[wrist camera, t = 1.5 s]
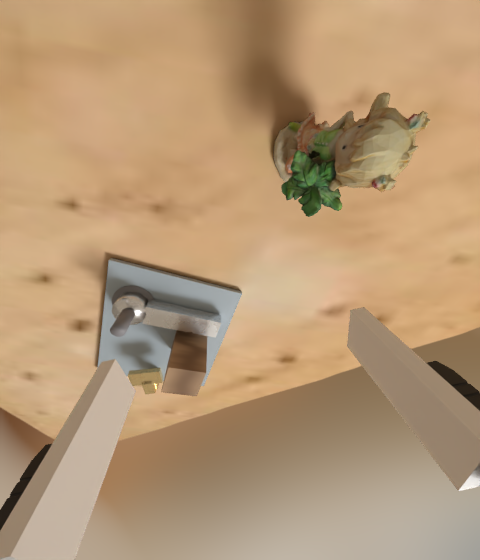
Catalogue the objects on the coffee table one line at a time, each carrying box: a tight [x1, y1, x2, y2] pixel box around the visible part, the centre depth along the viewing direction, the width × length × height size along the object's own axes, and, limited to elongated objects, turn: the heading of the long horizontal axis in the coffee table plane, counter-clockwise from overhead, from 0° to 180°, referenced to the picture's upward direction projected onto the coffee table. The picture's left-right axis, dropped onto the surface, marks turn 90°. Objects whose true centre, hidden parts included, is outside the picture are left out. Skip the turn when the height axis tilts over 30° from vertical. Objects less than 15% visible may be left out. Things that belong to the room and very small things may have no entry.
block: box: [161, 330, 207, 396], centre depth 32 cm, size 5×5×8 cm
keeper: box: [128, 368, 163, 394], centre depth 36 cm, size 5×5×4 cm
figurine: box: [274, 93, 430, 217], centre depth 19 cm, size 9×8×15 cm
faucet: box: [112, 292, 221, 338], centre depth 32 cm, size 15×4×2 cm, turn 70°
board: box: [98, 258, 242, 386], centre depth 32 cm, size 19×22×7 cm
